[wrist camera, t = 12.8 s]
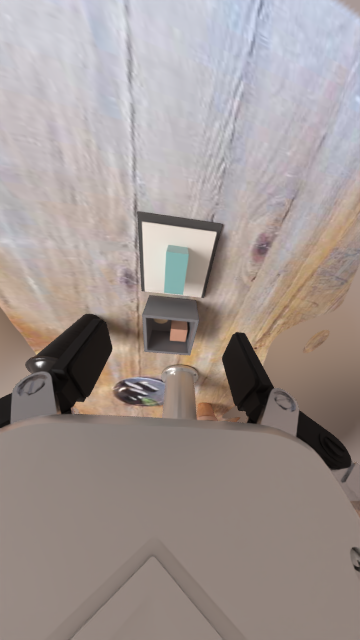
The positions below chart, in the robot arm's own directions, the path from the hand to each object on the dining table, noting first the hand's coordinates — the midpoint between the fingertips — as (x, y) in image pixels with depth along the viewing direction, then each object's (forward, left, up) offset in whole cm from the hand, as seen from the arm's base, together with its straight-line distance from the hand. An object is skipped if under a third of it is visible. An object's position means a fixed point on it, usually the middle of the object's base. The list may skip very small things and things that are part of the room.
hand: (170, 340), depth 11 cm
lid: (0, 0, -19) cm, 19 cm away
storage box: (-12, 0, -19) cm, 23 cm away
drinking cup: (-16, +19, -20) cm, 32 cm away
